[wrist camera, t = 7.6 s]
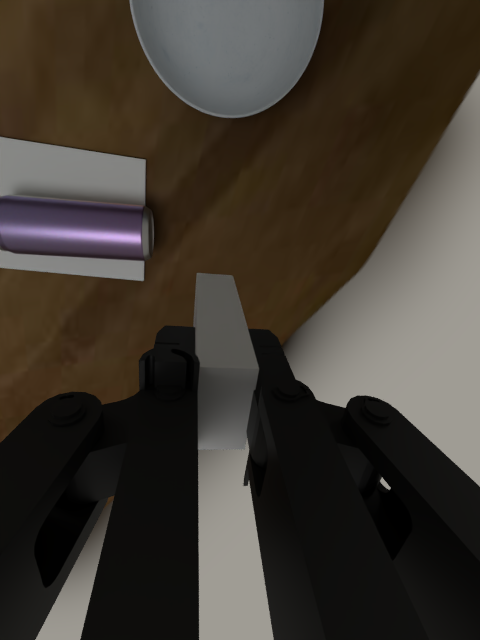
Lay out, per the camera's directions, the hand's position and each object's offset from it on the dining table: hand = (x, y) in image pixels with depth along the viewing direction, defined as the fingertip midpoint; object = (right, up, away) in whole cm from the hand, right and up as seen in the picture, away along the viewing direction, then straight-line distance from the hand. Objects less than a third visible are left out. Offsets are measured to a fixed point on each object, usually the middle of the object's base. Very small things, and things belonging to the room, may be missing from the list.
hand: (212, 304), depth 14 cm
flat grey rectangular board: (-19, +11, +23) cm, 32 cm away
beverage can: (-8, +9, +22) cm, 25 cm away
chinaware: (-1, +27, +18) cm, 33 cm away
